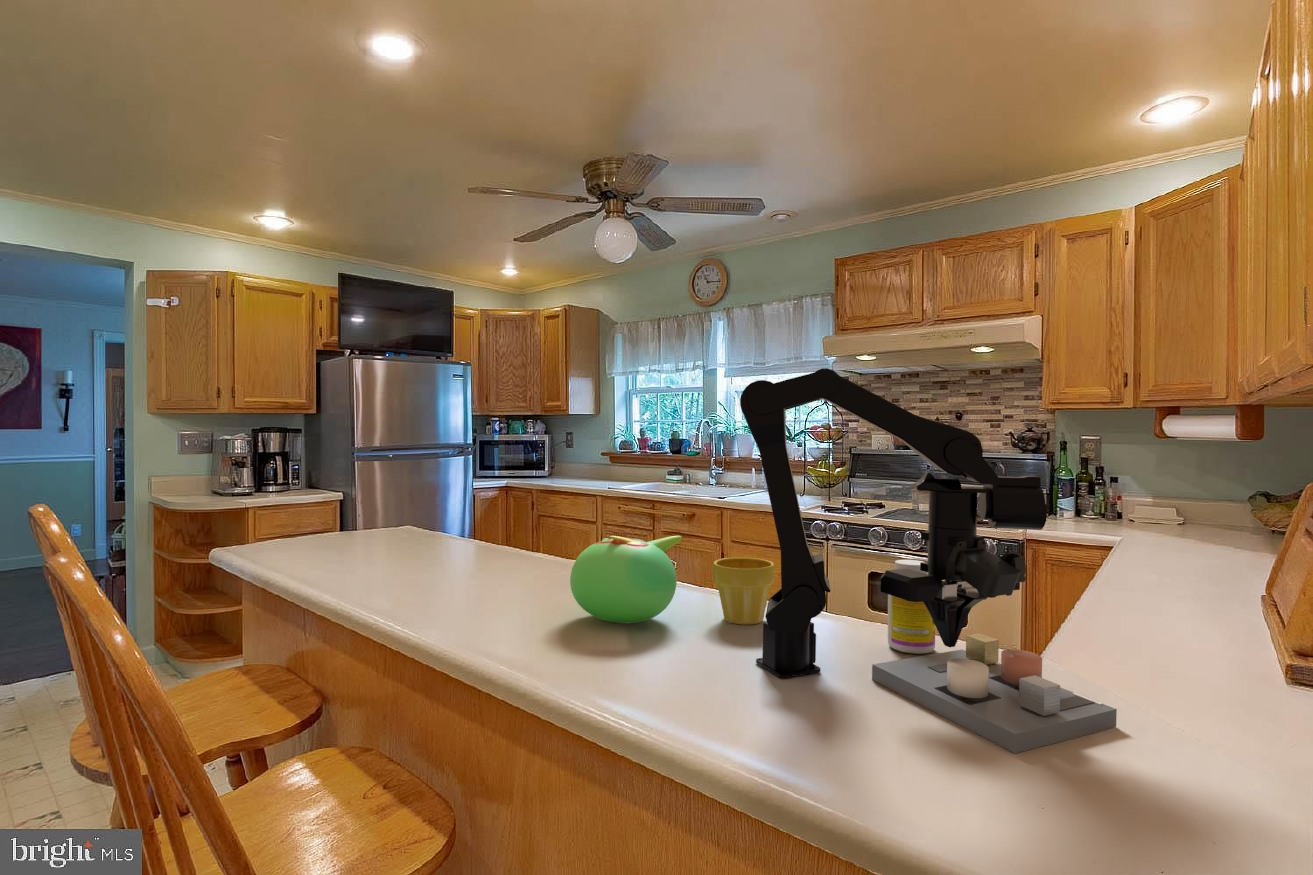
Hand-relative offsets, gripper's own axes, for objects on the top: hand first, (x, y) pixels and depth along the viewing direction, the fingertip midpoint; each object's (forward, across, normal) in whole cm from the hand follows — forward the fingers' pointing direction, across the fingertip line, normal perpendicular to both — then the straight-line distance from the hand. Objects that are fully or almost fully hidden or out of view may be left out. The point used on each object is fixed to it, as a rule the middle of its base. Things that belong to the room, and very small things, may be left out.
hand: (949, 646), depth 86 cm
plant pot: (+5, -11, +34) cm, 36 cm away
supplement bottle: (+5, +5, +12) cm, 14 cm away
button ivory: (+2, -5, -7) cm, 9 cm away
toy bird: (+5, -30, +41) cm, 51 cm away
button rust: (+3, +4, -7) cm, 9 cm away
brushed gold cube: (+3, +6, 0) cm, 6 cm away
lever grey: (+3, -1, -13) cm, 14 cm away
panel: (+5, -1, -6) cm, 8 cm away
